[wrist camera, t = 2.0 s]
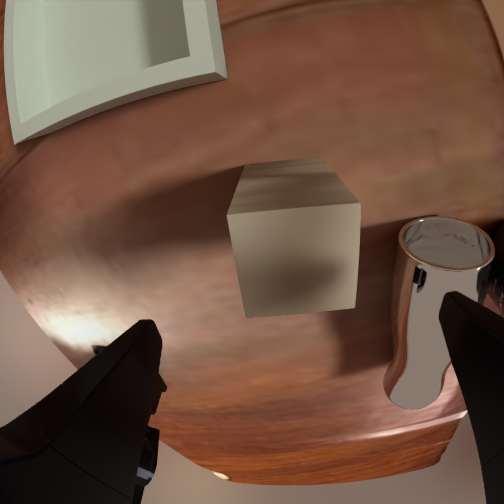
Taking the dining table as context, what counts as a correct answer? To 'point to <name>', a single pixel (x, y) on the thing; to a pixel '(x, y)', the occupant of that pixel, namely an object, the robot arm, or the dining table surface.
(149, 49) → the bin
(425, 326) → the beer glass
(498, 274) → the supplement bottle
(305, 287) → the birch block
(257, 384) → the dining table surface
